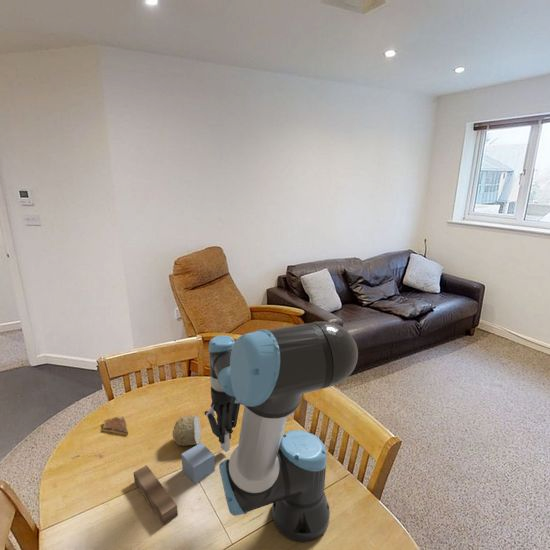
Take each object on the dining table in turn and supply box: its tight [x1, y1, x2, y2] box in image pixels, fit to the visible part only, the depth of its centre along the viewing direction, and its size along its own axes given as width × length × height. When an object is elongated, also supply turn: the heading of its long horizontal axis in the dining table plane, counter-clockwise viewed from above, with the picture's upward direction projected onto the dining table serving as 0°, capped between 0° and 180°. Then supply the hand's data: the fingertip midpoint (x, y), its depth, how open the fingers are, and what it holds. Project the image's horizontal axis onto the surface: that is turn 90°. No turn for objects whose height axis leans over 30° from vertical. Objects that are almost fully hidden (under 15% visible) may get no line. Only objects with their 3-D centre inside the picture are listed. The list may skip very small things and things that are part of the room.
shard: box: [101, 415, 129, 436], centre depth 124 cm, size 11×8×2 cm
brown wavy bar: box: [133, 464, 179, 526], centre depth 98 cm, size 18×4×4 cm, turn 44°
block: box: [181, 442, 216, 485], centre depth 107 cm, size 7×7×6 cm
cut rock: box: [172, 414, 202, 446], centre depth 118 cm, size 10×10×10 cm
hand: (225, 448), depth 115 cm, fingers closed
